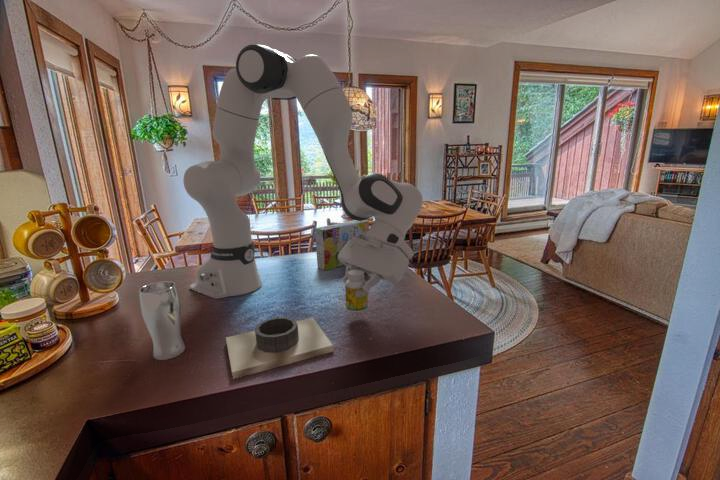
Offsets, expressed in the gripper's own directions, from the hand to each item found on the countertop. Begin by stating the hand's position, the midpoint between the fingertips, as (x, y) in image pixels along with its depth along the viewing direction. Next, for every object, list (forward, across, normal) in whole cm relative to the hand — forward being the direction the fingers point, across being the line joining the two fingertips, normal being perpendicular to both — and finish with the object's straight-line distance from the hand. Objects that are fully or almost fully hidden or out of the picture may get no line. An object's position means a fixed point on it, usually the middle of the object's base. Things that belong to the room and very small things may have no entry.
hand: (354, 286), depth 84 cm
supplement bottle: (+4, 0, +5) cm, 6 cm away
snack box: (-12, -37, +25) cm, 47 cm away
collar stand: (+20, -2, -8) cm, 22 cm away
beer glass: (+34, -17, -20) cm, 43 cm away
